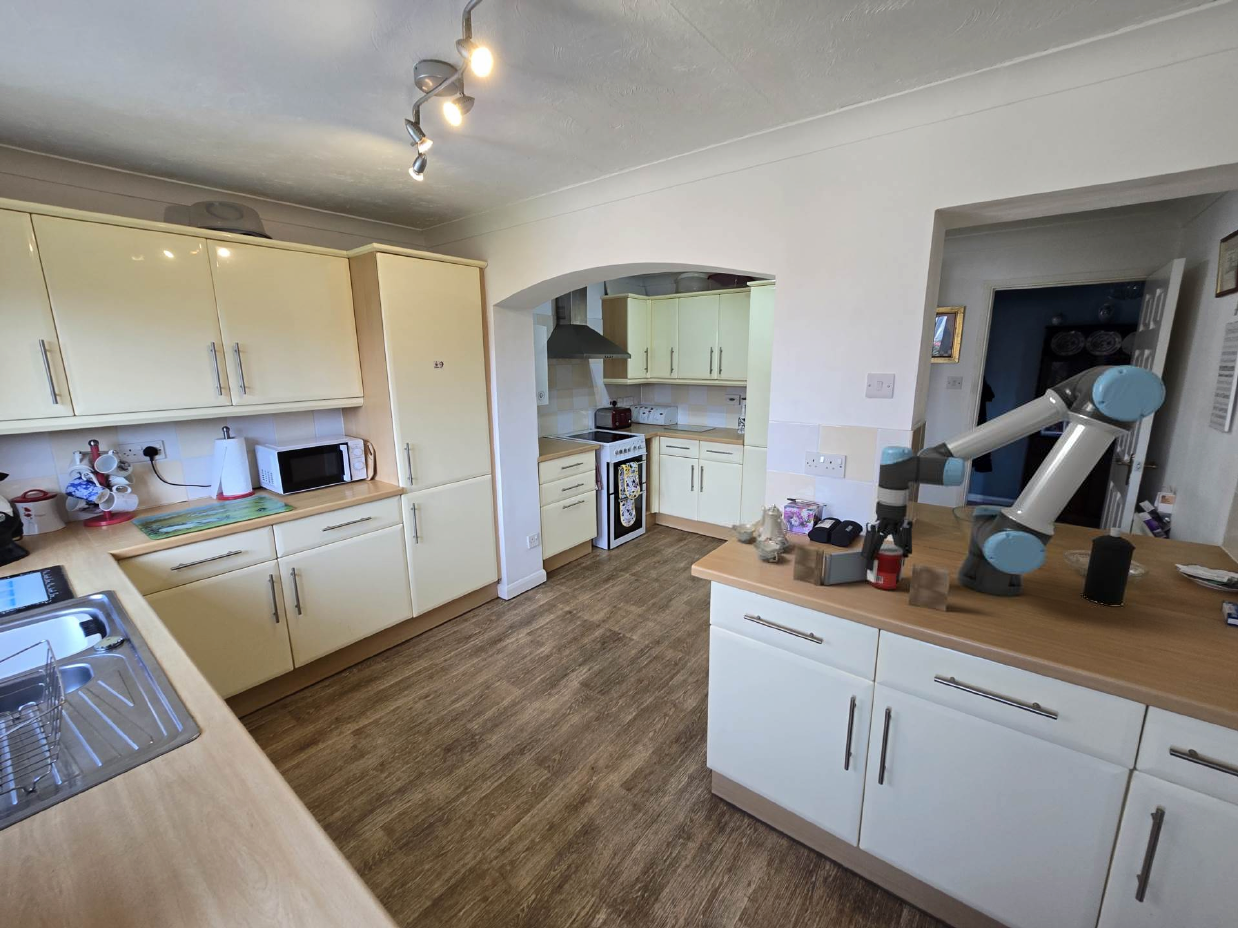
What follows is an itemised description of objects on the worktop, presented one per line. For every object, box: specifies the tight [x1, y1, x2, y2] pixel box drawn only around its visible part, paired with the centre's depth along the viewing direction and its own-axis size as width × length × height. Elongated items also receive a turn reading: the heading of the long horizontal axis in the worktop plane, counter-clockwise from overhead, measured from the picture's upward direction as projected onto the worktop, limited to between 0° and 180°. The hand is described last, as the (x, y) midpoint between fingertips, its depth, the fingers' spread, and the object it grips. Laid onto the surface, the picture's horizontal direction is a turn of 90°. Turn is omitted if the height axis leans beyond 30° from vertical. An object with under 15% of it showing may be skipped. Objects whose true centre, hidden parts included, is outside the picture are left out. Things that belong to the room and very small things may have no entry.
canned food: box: [868, 542, 903, 590], centre depth 142 cm, size 8×8×11 cm
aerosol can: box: [1081, 527, 1136, 606], centre depth 131 cm, size 8×8×20 cm
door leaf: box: [822, 549, 868, 586], centre depth 145 cm, size 21×2×9 cm, turn 104°
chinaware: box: [731, 503, 789, 563], centre depth 169 cm, size 28×17×17 cm, turn 16°
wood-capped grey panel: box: [792, 543, 952, 613], centre depth 137 cm, size 38×3×10 cm, turn 58°
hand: (883, 578), depth 142 cm, fingers closed on canned food, 8 cm apart
